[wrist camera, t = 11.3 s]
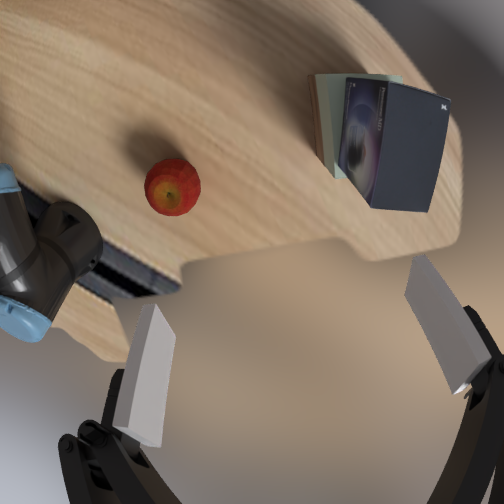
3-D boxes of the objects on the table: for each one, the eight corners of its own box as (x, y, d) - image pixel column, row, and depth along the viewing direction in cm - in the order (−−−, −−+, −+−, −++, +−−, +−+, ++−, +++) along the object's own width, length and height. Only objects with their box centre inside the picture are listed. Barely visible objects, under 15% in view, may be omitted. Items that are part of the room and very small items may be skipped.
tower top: (324, 165, 34) (335, 179, 30) (314, 74, 27) (325, 74, 23) (386, 160, 33) (403, 173, 29) (382, 74, 26) (402, 76, 22)
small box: (341, 74, 23) (386, 76, 14) (396, 85, 23) (454, 97, 14) (334, 167, 29) (368, 210, 20) (385, 171, 29) (431, 214, 20)
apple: (192, 142, 36) (179, 158, 30) (213, 189, 41) (206, 213, 34) (146, 163, 38) (127, 183, 31) (169, 206, 42) (155, 232, 36)
